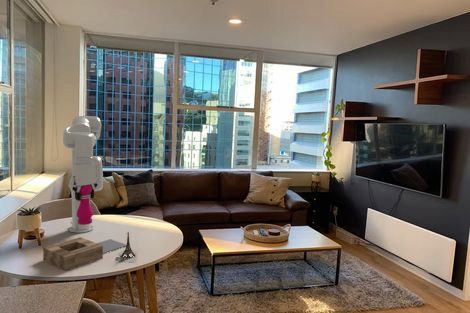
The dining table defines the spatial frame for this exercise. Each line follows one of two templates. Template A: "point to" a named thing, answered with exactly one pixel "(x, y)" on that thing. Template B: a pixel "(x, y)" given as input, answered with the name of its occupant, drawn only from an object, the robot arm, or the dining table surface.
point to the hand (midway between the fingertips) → (84, 198)
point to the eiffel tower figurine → (126, 252)
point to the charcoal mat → (111, 245)
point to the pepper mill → (85, 206)
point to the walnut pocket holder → (72, 253)
